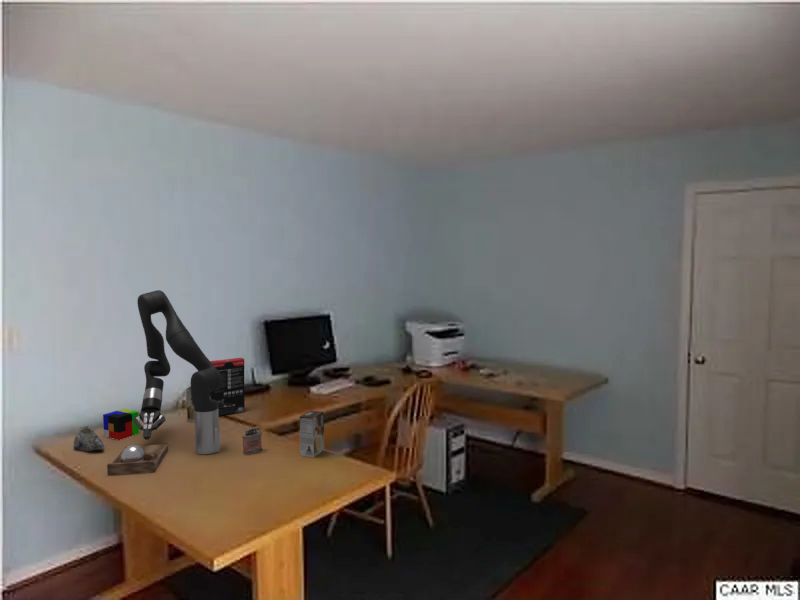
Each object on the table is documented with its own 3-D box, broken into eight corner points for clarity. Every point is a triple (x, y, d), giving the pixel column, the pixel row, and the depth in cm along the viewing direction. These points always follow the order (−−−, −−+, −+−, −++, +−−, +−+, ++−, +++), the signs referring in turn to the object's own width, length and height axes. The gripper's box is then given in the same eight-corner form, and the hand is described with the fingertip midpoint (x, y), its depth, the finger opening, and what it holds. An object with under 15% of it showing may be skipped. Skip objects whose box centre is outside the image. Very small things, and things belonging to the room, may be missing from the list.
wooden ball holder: (168, 450, 237) (167, 440, 237) (154, 472, 213) (154, 461, 213) (126, 452, 234) (125, 442, 234) (107, 475, 211) (107, 464, 210)
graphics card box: (240, 409, 297) (239, 356, 295) (246, 412, 292) (244, 358, 290) (207, 415, 286) (205, 360, 284) (213, 418, 281) (211, 362, 279)
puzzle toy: (104, 436, 254) (103, 414, 253) (124, 430, 263) (123, 408, 262) (119, 440, 249) (118, 417, 248) (139, 433, 258) (138, 411, 257)
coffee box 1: (211, 418, 281) (210, 385, 279) (204, 422, 274) (203, 388, 273) (193, 417, 282) (192, 385, 281) (186, 421, 276) (185, 388, 274)
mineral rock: (105, 452, 234) (104, 428, 233) (74, 458, 228) (73, 433, 228) (102, 443, 245) (101, 420, 244) (73, 448, 239) (71, 424, 238)
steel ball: (135, 448, 214) (138, 469, 215) (147, 441, 222) (149, 462, 223) (115, 449, 215) (117, 470, 216) (128, 442, 223) (130, 462, 224)
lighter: (244, 455, 230) (244, 430, 230) (241, 453, 233) (240, 428, 232) (263, 451, 236) (263, 426, 235) (259, 448, 238) (259, 424, 237)
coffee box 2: (310, 448, 239) (310, 410, 237) (324, 450, 237) (324, 411, 235) (299, 455, 230) (299, 416, 229) (314, 457, 228) (313, 417, 226)
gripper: (133, 397, 242) (126, 435, 231) (167, 395, 244) (162, 433, 233) (137, 406, 247) (130, 444, 236) (170, 405, 250) (165, 442, 239)
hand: (146, 438), depth 235 cm, fingers closed
